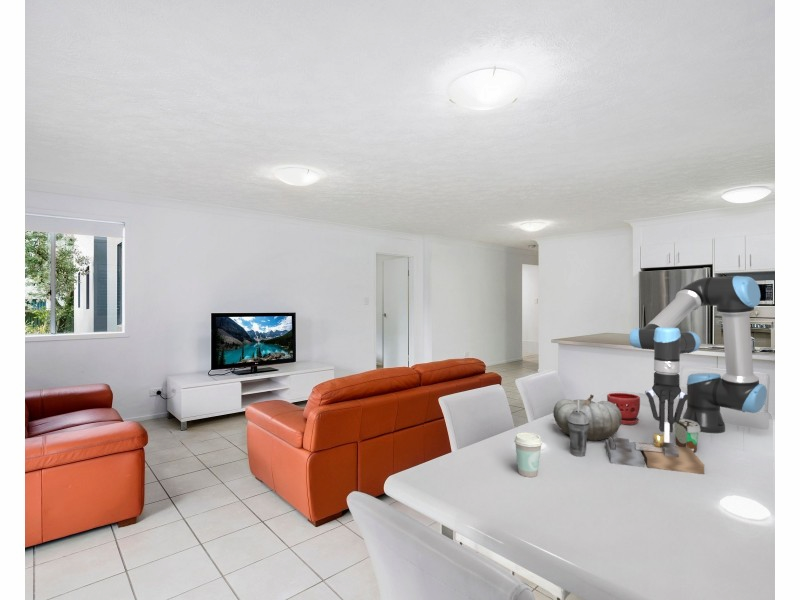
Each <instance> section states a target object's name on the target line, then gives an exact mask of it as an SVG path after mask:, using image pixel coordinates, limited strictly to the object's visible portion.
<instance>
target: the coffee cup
mask: <svg viewBox="0 0 800 600" xmlns="http://www.w3.org/2000/svg"><path fill="white" fill-rule="evenodd" d="M513 442H514V443H515V452H516V461H517V470H518V474H519V475H520V476H523V477H527V478H535V477H538V473H539V466H540V457H541V449H542V445H543V441H542V438H541V436H540V435H539V434H536V433H533V432H519V433H517V434H516V435H515V437H514V441H513Z"/></svg>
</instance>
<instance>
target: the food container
mask: <svg viewBox="0 0 800 600" xmlns="http://www.w3.org/2000/svg"><path fill="white" fill-rule="evenodd" d="M673 429H674V445H675V446H676V447H686V448H690V449H691V450H692V451H693V452H694V453H695V454H696V452H697V449H698V439H699V438H698V437H699V432H702V431H701V429H700V426H699V424H698V423H697V422H695V421H692V420H688V419H683V417H680V421H679V422H674V424H673Z"/></svg>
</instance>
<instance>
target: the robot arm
mask: <svg viewBox="0 0 800 600" xmlns="http://www.w3.org/2000/svg"><path fill="white" fill-rule="evenodd" d="M760 302H761V290H760V286H759V284H758V283H757V281H756V280H755V279H754V278H752V277H751V276H742V275H741V276H740V275H734V276H733V275H732V276H731V275H730V276H715V277H714V276H706V277H701V278H699V279H696V280H694V281H692V282H690V283H688V284H687V285H685V286H684V287H682V288H681V289H679V290H678V291H677V293H676V294H675V298H673V300H672V301H671V302H670V303H669V304H668V305H666V306H665V307H664V308H663V309H662V310H661V311H660V312H659V313H658V314H657V315H655V317H654V318H653V319H651V320H650V321H649V322H648V323H647V324H646V325H645V326H644V327H643V328H642V327H641V328H640V327H638V328H633V329H631V331H630V332H629V334H628V335H629V338H628V339H629V344H630V346H631V347H633V348H637V349H641V350H650V351H653V371H654V372H653V385H652V387H651V388H650V389H649V390H645V391H644V394H645V396H647V397H646V398H647V399H648V402H649V406H650V411H651V413H652V417H653V419H654V420H655V421H658V423H659V424H658V426H659V431H660V432H662V435H664V442H665V443H670V433H673V431H674V422H679V421H680V418H682V419H688V420H692V421H695V422H697V423H698V424H699V426H700V429H701V431H700V432H703V433H710V434H711V433H713V434H714V433H715V434H716V433H717V434H719V433H724V432H725V431H726V425H725V421H724V419H723V416H722V413H721V408H726V409H731V410H735V411H739V412H742V413H745V412H746V413H752V414H755V413H758V412H760V411H761V410H762V409H763V407H764V406H765V403H766V400H767V395H768V390H767V387H766V385H764V384H763V383H760V381H759V380H760V378H759V377H758V376H757V375H756V374H755V373H754V362H753V350H752V349H753V348H752V335H751V333H752V331H751V319H750V315H751V313H753V312H754V311H755V307H757V306H759V304H760ZM704 306H706V307H707V306H708V307H710V306H711V307H716V312H717V313H718V314H719V315H721V319H722V333H723V346H724V347H723V348H724V358H725V361H724V362H725V373H724V374H723V375H721V374H720V373H715V372H714V373H713V372H709V373H708V372H707V373H706V372H705V373H704V372H703V373H702V372H701V373H700V372H699V373H692V374H689V375H688V377H687V382H686V393H685V392H683V391H682V389H681V387H680V380H681V379H680V374H679V373H680V371H681V370H680V369H681V368H680V366H681V364H680V362H681V361H680V358H681V354H691V353H694V352H697V351H698V350H699V349H700V348H701V345H702V344H701V343H702V342H701V338H700V336H699V335H698V334H697V333H695V332H693V331H681V330H680V329H679V327H677V326H678V325H679V324H680V323H681V322H682V321H683V320H684V319H685V318H686V317H687V316H688V315H690V313H692V311H693V312H694V311H696V310H698V309H699V308H700V307H704ZM654 394H655V395H656V396H657V398H658V404H659V405H658V411H657V407H656V404H655V399H654V396H655V395H654ZM677 397H678V398H679V399H678V402H677V405H676V408H675V411H674V405H675V400H676V398H677ZM666 400H667V421H666V420H665V419H666V418H665V417H666V416H665V415H666V413H665V412H666V411H665V410H666ZM685 403H686V409H685V412H684V414H683V410H684V406H685ZM682 414H683V416H682Z"/></svg>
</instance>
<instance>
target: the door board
mask: <svg viewBox="0 0 800 600" xmlns="http://www.w3.org/2000/svg"><path fill="white" fill-rule="evenodd" d="M635 443H637V442H635V441H630V439H629V438H624V437H615V436H611V437H608V438H605V449H606V452H607V455H608V456H607V457H608V459H609V461H610V464H615V465H626V466H632V467H641V468H644V467H645V466H646V467H647V468H650V469H658V470H666V471H674V472H675V471H676V472H683V473H690V474H691V473H692V474H700V475H705V464H704V463H703V462H702V460H701V459H700V458H699V456H697V455H696V453H694V452H693V451H692V450H691V449H690V448H686V447H678V446H676V445H675V442H674V443H672V442H669V443H667V442H664V447H663V448H662V452H655V451H645V450H636V448H635ZM638 443H639V444H649V445H653V443H646V442H645V443H644V442H638Z"/></svg>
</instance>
